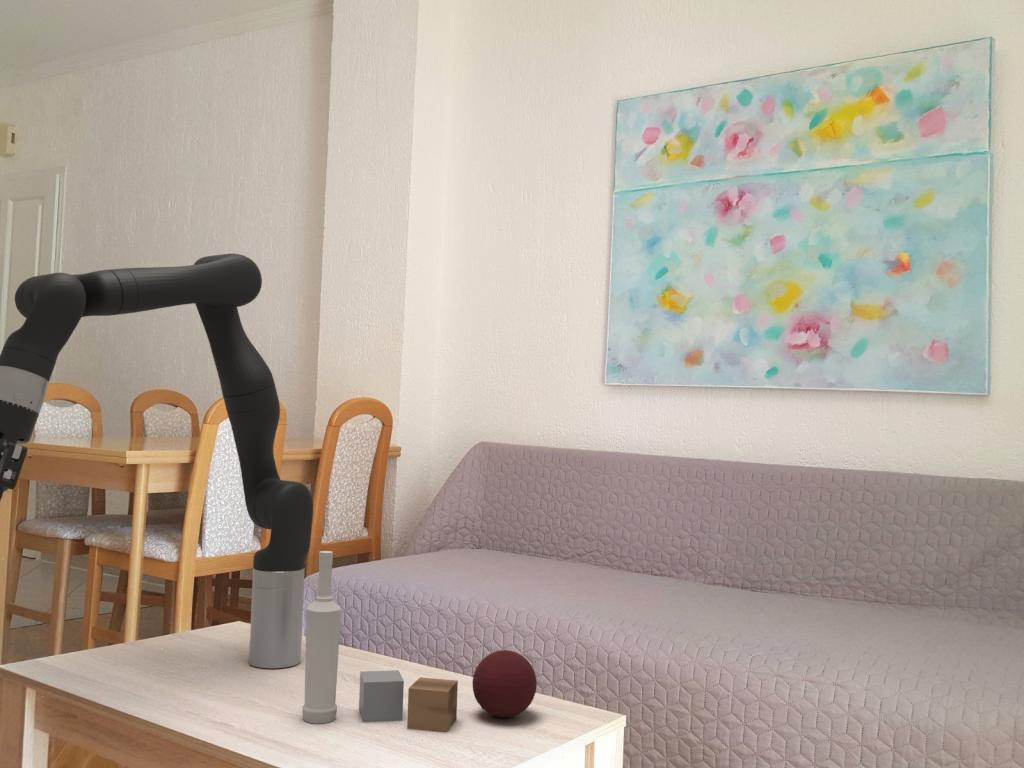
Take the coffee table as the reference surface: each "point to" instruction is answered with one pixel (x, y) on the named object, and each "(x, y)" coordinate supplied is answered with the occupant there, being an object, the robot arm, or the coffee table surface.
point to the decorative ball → (504, 684)
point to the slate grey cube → (381, 696)
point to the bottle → (322, 649)
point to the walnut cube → (432, 704)
